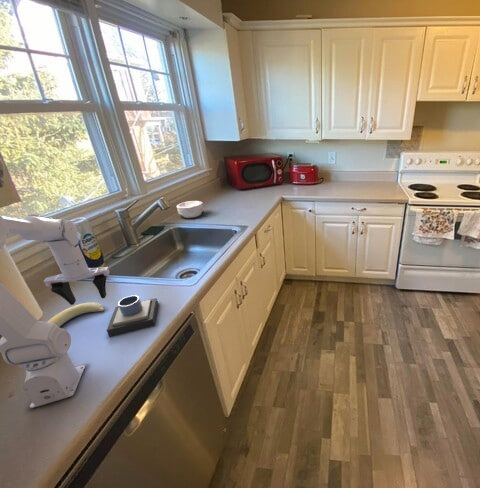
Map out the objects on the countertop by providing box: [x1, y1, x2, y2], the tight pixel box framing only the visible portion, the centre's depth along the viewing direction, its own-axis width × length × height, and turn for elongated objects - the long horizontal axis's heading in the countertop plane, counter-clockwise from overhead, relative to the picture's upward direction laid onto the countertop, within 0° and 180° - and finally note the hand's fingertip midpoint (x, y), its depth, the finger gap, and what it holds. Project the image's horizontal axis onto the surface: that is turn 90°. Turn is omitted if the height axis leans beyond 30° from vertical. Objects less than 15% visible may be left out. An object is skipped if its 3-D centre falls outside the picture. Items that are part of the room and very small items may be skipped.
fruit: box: [47, 301, 106, 328], centre depth 90 cm, size 7×15×3 cm, turn 146°
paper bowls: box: [176, 200, 205, 219], centre depth 176 cm, size 15×15×8 cm
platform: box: [113, 299, 151, 326], centre depth 89 cm, size 9×9×1 cm
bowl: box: [117, 294, 142, 316], centre depth 88 cm, size 6×6×4 cm
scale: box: [106, 297, 159, 338], centre depth 90 cm, size 12×12×2 cm
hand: (89, 299), depth 84 cm, fingers open, 7 cm apart
